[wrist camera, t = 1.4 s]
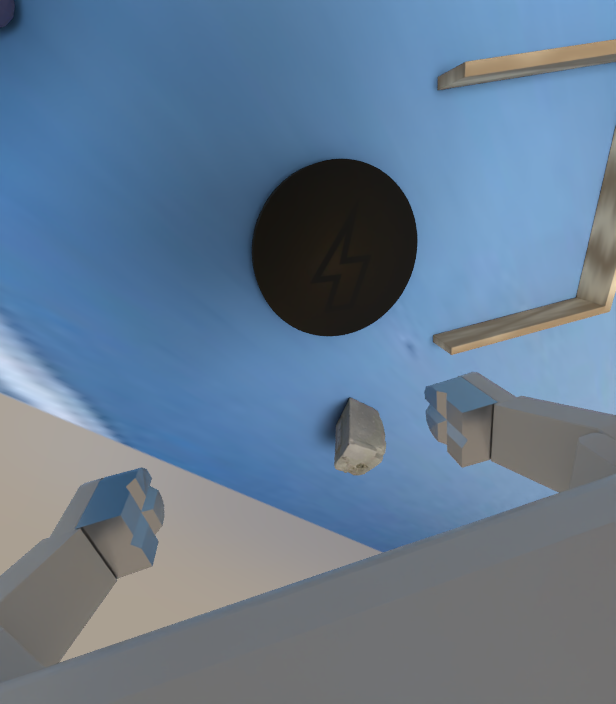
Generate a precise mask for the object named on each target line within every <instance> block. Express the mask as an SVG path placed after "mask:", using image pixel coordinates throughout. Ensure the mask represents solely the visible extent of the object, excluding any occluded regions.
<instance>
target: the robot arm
mask: <svg viewBox="0 0 616 704" xmlns="http://www.w3.org/2000/svg"><path fill="white" fill-rule="evenodd" d="M425 399H426V400H427V401H428V402H429V403H430V405H429V406H428V408H427V410H426V421H427V424H428V426H429V429H430V431H431V433H432V434H433V436H434V437H435V438H436V439H437V441H439V442H441V443H444V444H447V452H448V453H449V454H450V455H451V456H452V457H453V458H454V459H455V460H456V462H457V463H458V464H459V465H460V466H461V467H466V466H469V465H473V464H476V463H480V462H483V461H487V460H490V459H491V461H492V462H495V463H497V464H499V465H501V466H503V467H505V468H507V469H510V470H512V471H514V472H516V473H518V474H520V475H522V476H525V477H527V478H529V479H531V480H533V481H535V482H537V483H540V484H542V485H544V486H546V487H548V488H550V489H552V490H555V491H557V492H559V493H558V494H555V495H552V496H549V497H546V498H543V499H540V500H537V501H534V502H531V503H528V504H525V505H522V506H519V507H516V508H513V509H510V510H508V511H505V512H502V513H499V514H496V515H493V516H490V517H487V518H484V519H481V520H478V521H475V522H472V523H469V524H466V525H463V526H460V527H457V528H455V529H452V530H449V531H446V532H443V533H440V534H437V535H434V536H431V537H428V538H425V539H422V540H419V541H416V542H413V543H410V544H407V545H404V546H402V547H399V548H396V549H393V550H390V551H387V552H384V553H381V554H378V555H375V556H372V557H369V558H366V559H363V560H360V561H358V562H355V563H352V564H349V565H346V566H343V567H340V568H337V569H334V570H331V571H328V572H325V573H322V574H319V575H316V576H313V577H311V578H307V579H304V580H302V581H299V582H296V583H293V584H290V585H287V586H284V587H281V588H278V589H275V590H272V591H269V592H266V593H263V594H261V595H258V596H255V597H251V598H249V599H246V600H243V601H240V602H237V603H234V604H231V605H228V606H225V607H222V608H219V609H216V610H213V611H210V612H208V613H204V614H201V615H198V616H196V617H193V618H190V619H187V620H184V621H181V622H178V623H175V624H172V625H169V626H167V627H163V628H160V629H158V630H154V631H151V632H149V633H146V634H143V635H140V636H137V637H134V638H131V639H128V640H125V641H122V642H119V643H116V644H113V645H110V646H107V647H105V648H101V649H98V650H96V651H93V652H90V653H87V654H84V655H81V656H78V657H75V658H72V659H69V660H66V661H63V662H60V660H61V659H62V657H63V656H64V655H65V653H66V652H67V650H68V649H69V648H70V646H71V645H72V643H73V642H74V641H75V639H76V638H77V636H78V635H79V634H80V632H81V631H82V629H83V628H84V626H85V625H86V624H87V622H88V621H89V619H90V618H91V617H92V615H93V614H94V612H95V611H96V609H97V608H98V607H99V605H100V604H101V603H102V601H103V600H104V598H105V597H106V596H107V594H108V593H109V591H110V590H111V589H112V587H113V586H114V584H115V583H116V582H117V579H118V578H120V577H123V576H126V575H129V574H132V573H135V572H138V571H140V570H143V569H146V568H149V567H152V566H153V562H154V558H155V554H156V549H157V545H158V540H157V538H156V536H155V534H156V533H157V532H158V531H159V529H160V528H161V527H162V524H163V520H164V504H163V500H162V497H161V495H160V493H159V491H158V490H157V489H154V488H153V487H151V486H150V483H151V479H152V478H151V476H150V474H149V473H148V471H147V469H145V468H138V469H135V470H131V471H127V472H123V473H120V474H116V475H112V476H108V477H105V478H101V479H98V480H94V481H90V482H87V483H85V484H83V485H81V486H80V487H79V489H78V490H77V492H76V494H75V496H74V497H73V499H72V500H71V502H70V504H69V506H68V507H67V509H66V511H65V512H64V514H63V516H62V517H61V519H60V521H59V523H58V524H57V526H56V528H55V529H54V531H53V533H52V534H51V536H50V537H49V538H46V539H43V540H42V541H40V542H39V543H38V544H37V545H36V546H35V547H33V548H32V549H31V550H30V551H29V552H28V553H26V554H25V555H24V556H23V557H22V558H21V559H19V560H18V561H17V562H16V563H15V564H14V565H12V566H11V567H10V568H9V569H8V570H7V571H6V572H4V573H3V574H2V575H1V576H0V704H616V415H612V414H607V413H602V412H598V411H593V410H588V409H583V408H578V407H573V406H568V405H564V404H559V403H554V402H549V401H544V400H539V399H534V398H530V397H525V396H520V397H515V396H514V395H512V394H511V393H509V392H508V391H506V390H504V389H503V388H501V387H500V386H498V385H497V384H495V383H493V382H492V381H490V380H489V379H487V378H486V377H484V376H482V375H481V374H479V373H477V372H471V373H468V374H464V375H461V376H458V377H457V378H453V379H450V380H447V381H443V382H440V383H436V384H433V385H430V386H426V389H425ZM59 662H60V663H59Z"/></svg>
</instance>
